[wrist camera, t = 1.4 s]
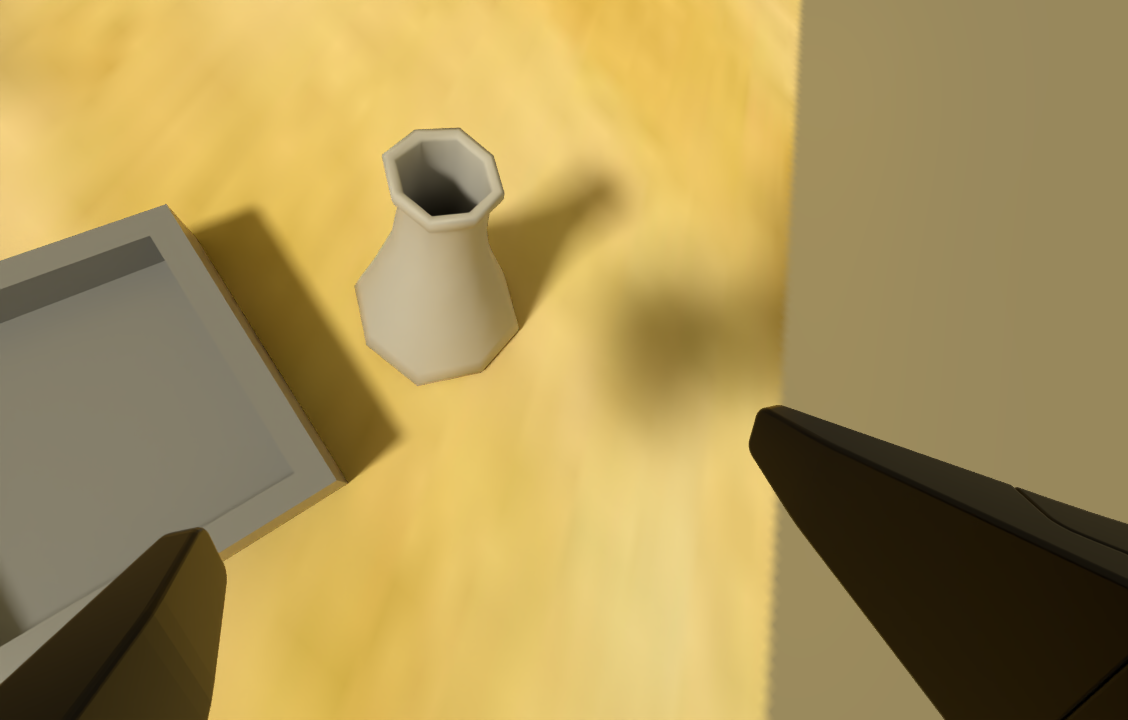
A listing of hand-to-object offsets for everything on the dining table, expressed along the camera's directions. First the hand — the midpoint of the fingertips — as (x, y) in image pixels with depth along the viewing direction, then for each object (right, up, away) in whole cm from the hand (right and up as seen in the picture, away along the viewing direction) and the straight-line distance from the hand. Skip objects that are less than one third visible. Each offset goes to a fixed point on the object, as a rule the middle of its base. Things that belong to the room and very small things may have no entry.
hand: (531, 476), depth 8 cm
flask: (-5, +4, +15) cm, 16 cm away
